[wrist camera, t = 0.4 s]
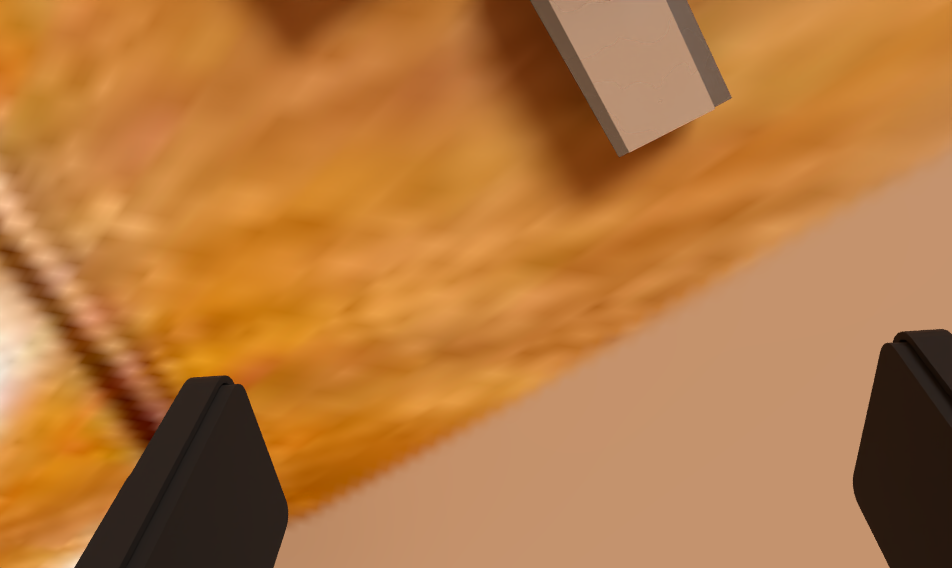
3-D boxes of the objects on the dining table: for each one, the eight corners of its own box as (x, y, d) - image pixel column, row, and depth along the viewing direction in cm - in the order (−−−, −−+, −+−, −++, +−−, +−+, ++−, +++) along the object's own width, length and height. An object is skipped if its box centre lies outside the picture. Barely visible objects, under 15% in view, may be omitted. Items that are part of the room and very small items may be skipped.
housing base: (609, -151, 29) (619, -146, 25) (711, 68, 33) (731, 97, 30) (499, -76, 30) (495, -61, 27) (610, 123, 35) (619, 157, 31)
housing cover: (613, -111, 26) (617, -107, 25) (707, 95, 30) (715, 108, 28) (524, -54, 27) (523, -47, 26) (625, 138, 31) (629, 152, 29)
